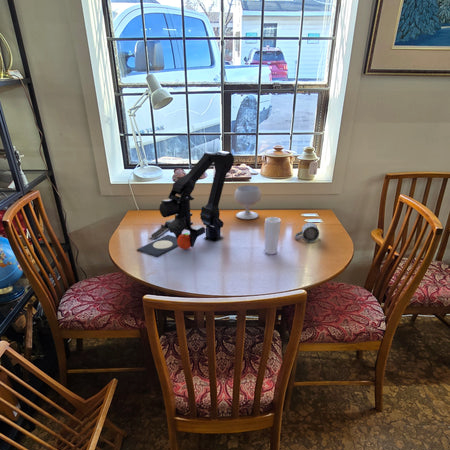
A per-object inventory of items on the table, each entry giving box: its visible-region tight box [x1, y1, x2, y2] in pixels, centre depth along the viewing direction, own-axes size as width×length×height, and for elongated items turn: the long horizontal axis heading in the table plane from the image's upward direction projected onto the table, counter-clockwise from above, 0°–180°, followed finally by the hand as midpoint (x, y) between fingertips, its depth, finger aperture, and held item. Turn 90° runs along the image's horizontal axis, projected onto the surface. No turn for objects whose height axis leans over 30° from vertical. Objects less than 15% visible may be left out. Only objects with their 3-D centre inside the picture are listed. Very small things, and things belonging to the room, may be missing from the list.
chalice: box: [234, 185, 262, 220], centre depth 197 cm, size 14×14×15 cm
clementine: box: [177, 232, 191, 250], centre depth 165 cm, size 8×7×7 cm
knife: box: [150, 224, 169, 240], centre depth 184 cm, size 25×6×1 cm, turn 154°
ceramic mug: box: [294, 222, 320, 243], centre depth 173 cm, size 11×8×8 cm
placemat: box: [137, 234, 179, 258], centre depth 169 cm, size 12×20×1 cm, turn 145°
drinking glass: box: [263, 216, 282, 255], centre depth 159 cm, size 7×7×15 cm
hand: (185, 245), depth 166 cm, fingers closed on clementine, 7 cm apart
